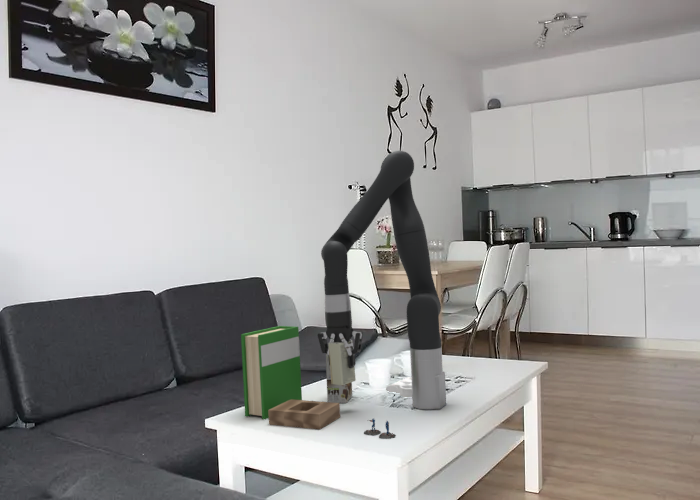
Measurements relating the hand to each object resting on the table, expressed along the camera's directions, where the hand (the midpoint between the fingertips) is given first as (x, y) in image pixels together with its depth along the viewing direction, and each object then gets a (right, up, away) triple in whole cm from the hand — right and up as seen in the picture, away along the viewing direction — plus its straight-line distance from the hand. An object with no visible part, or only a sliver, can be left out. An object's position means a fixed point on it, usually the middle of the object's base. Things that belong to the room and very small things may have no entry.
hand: (342, 367), depth 182 cm
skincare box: (0, -5, 0) cm, 5 cm away
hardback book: (-20, -14, +5) cm, 25 cm away
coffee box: (-1, -13, +14) cm, 19 cm away
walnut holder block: (-10, -13, -8) cm, 19 cm away
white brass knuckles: (+23, -12, +21) cm, 33 cm away
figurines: (+10, -13, -23) cm, 28 cm away
